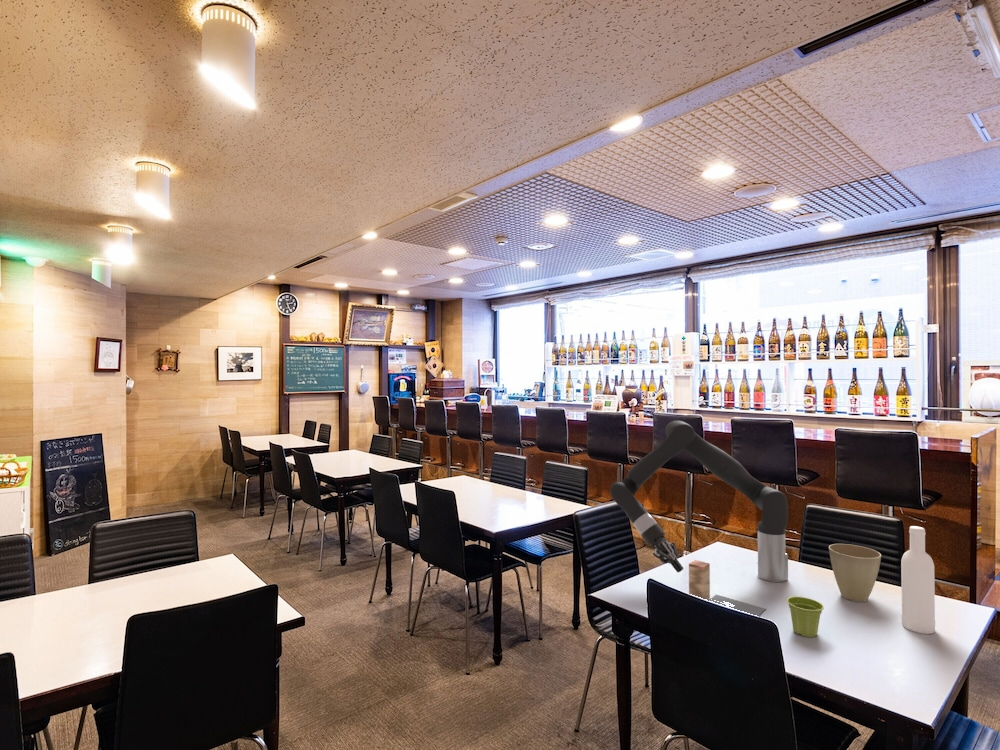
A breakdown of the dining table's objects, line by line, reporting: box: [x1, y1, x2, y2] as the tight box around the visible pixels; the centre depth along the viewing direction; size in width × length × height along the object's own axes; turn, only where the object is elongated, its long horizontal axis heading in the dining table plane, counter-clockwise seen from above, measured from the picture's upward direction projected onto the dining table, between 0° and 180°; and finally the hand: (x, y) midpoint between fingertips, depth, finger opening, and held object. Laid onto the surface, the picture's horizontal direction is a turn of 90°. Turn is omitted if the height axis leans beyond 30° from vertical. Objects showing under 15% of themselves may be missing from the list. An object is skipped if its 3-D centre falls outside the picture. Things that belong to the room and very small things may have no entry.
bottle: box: [900, 525, 936, 635], centre depth 157 cm, size 8×8×30 cm
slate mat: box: [709, 594, 767, 617], centre depth 171 cm, size 16×13×1 cm
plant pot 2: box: [828, 543, 882, 603], centre depth 179 cm, size 15×15×16 cm
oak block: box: [688, 559, 711, 600], centre depth 179 cm, size 5×5×12 cm
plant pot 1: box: [786, 596, 825, 638], centre depth 155 cm, size 9×9×9 cm
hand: (680, 570), depth 184 cm, fingers closed
